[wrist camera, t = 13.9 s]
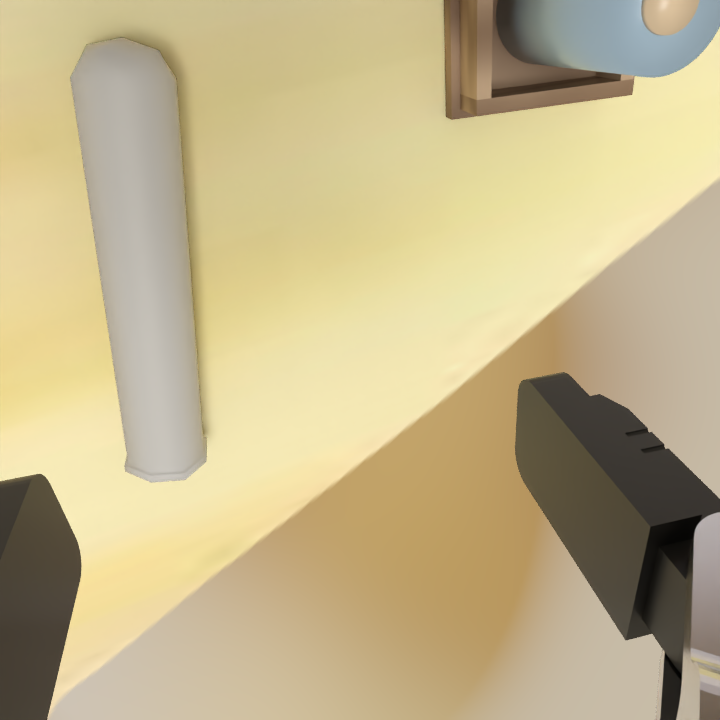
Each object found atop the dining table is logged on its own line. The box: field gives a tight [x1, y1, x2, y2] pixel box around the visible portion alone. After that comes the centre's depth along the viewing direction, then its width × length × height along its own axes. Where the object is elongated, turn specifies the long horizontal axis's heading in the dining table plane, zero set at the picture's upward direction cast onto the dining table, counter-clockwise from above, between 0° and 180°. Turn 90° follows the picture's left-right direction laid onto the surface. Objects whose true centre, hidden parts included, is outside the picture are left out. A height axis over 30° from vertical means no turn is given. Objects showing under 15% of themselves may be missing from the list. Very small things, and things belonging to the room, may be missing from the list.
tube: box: [70, 37, 207, 482], centre depth 35 cm, size 5×5×25 cm
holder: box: [444, 0, 635, 119], centre depth 32 cm, size 10×10×4 cm
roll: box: [496, 0, 720, 77], centre depth 28 cm, size 5×5×11 cm
